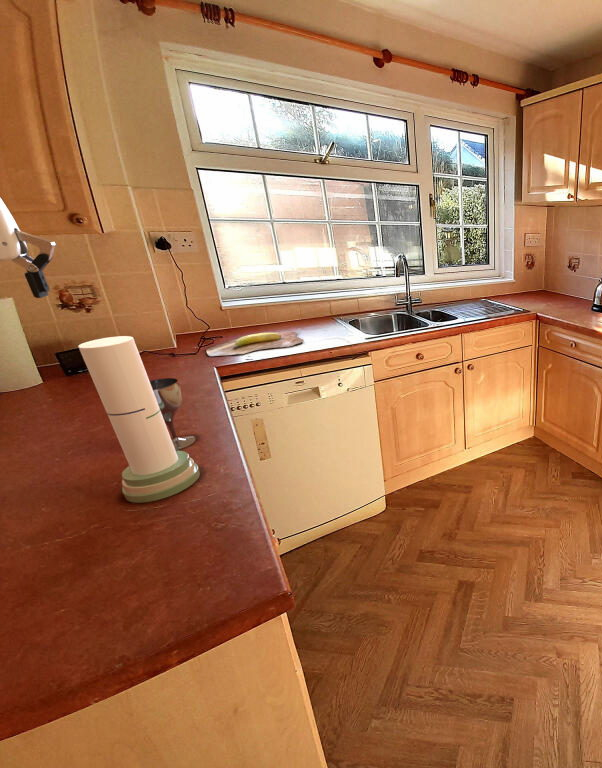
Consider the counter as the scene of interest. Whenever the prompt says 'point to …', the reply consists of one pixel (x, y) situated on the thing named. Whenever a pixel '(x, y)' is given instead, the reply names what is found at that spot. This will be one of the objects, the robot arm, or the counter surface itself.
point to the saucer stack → (160, 481)
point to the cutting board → (255, 343)
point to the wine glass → (170, 407)
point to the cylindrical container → (130, 403)
